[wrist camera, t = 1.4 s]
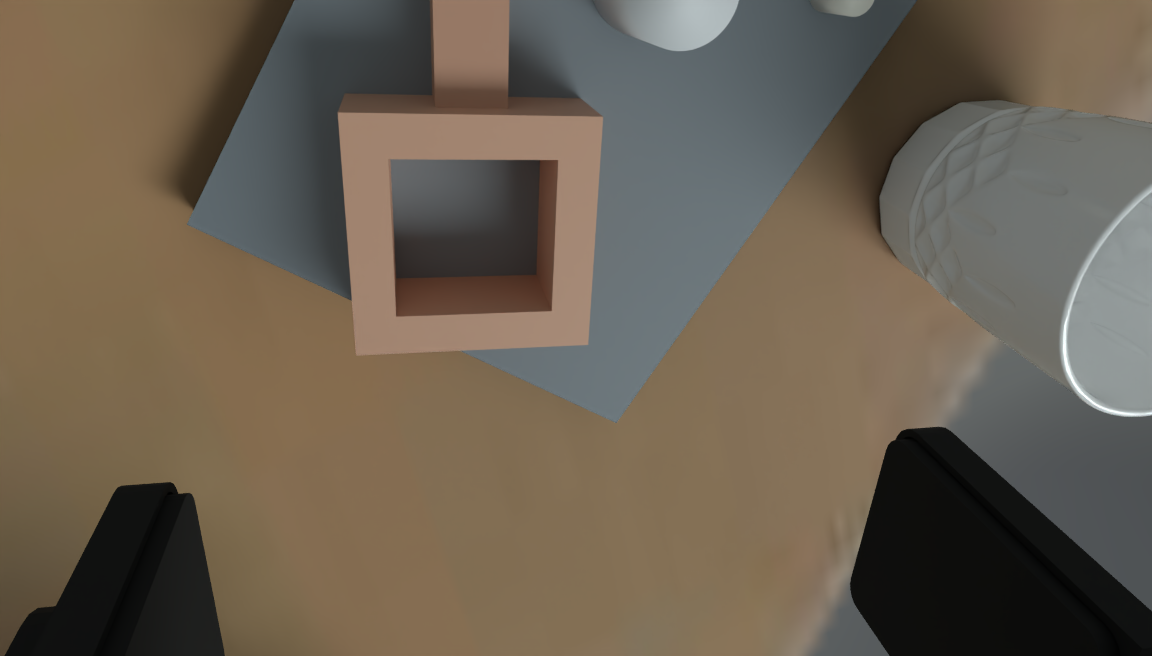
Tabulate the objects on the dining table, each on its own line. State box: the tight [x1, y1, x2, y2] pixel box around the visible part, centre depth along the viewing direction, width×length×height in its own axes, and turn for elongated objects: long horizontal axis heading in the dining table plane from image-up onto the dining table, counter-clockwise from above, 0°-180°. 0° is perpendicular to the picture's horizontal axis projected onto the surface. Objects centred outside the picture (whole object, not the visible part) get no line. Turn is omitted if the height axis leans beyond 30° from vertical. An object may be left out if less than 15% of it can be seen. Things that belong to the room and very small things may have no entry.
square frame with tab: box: [338, 0, 603, 355], centre depth 23 cm, size 10×7×3 cm
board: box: [187, 0, 917, 423], centre depth 23 cm, size 18×16×5 cm
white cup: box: [879, 100, 1152, 417], centre depth 25 cm, size 8×8×10 cm
